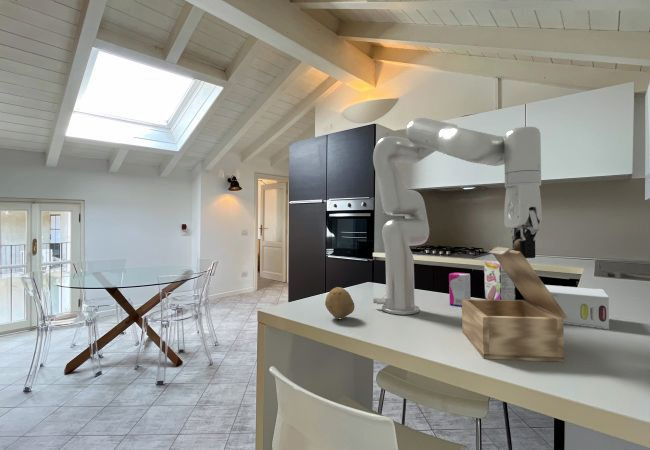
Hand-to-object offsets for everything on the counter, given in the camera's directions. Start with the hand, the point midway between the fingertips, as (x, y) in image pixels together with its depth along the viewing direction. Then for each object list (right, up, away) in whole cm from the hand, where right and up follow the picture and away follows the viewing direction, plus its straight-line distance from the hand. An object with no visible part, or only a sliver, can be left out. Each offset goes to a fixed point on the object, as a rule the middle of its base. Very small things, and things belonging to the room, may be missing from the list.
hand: (523, 256), depth 79 cm
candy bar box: (+10, -22, +30) cm, 38 cm away
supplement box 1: (+2, -22, +41) cm, 47 cm away
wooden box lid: (-2, -6, 0) cm, 6 cm away
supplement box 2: (+27, -22, +21) cm, 40 cm away
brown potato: (-43, -23, +26) cm, 55 cm away
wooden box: (-4, -22, +1) cm, 22 cm away
